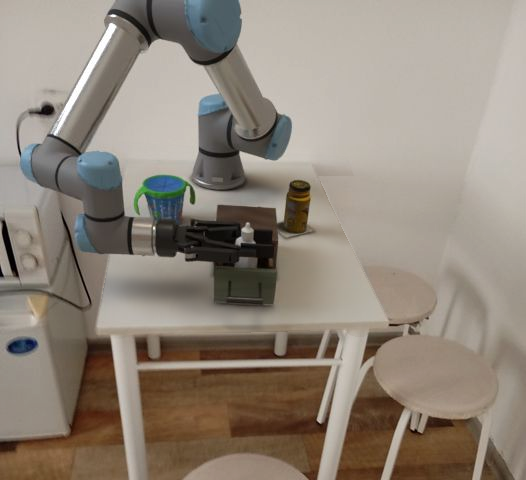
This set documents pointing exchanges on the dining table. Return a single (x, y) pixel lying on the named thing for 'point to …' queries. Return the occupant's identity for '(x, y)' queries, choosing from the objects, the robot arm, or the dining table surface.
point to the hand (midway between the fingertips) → (272, 243)
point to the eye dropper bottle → (246, 238)
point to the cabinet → (251, 221)
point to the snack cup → (164, 196)
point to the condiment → (296, 209)
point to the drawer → (245, 282)
